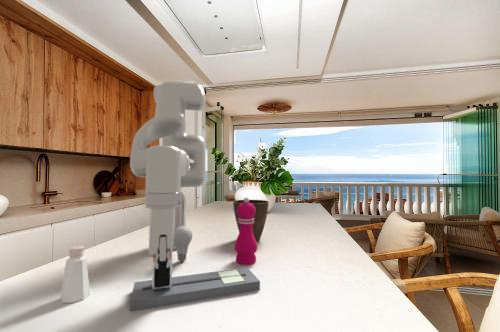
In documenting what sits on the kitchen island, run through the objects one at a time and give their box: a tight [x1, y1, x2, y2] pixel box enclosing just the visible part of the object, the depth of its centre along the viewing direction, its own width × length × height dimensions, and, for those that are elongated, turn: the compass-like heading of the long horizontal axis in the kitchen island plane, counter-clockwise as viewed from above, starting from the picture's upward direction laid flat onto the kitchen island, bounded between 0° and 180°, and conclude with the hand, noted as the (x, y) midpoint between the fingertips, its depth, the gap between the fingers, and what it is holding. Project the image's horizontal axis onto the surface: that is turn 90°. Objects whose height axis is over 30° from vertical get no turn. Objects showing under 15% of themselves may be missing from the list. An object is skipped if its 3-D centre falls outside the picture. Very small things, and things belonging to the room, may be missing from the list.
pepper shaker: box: [59, 245, 91, 304], centre depth 55 cm, size 5×5×11 cm
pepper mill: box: [234, 197, 258, 266], centre depth 78 cm, size 7×7×20 cm
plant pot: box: [232, 199, 270, 243], centre depth 103 cm, size 15×15×16 cm
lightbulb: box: [174, 226, 193, 263], centre depth 77 cm, size 6×6×11 cm
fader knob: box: [151, 251, 173, 290], centre depth 56 cm, size 4×4×7 cm
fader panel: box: [129, 267, 261, 312], centre depth 58 cm, size 9×28×2 cm, turn 110°
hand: (162, 280), depth 56 cm, fingers closed on fader knob, 4 cm apart
